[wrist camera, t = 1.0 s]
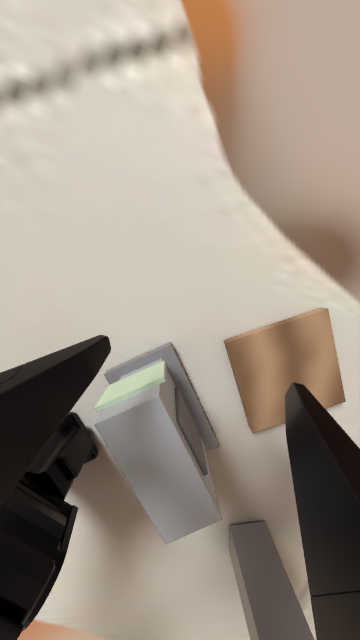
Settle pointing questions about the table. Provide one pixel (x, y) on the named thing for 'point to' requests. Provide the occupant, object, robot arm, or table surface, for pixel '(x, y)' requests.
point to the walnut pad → (285, 366)
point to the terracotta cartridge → (265, 586)
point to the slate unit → (160, 441)
